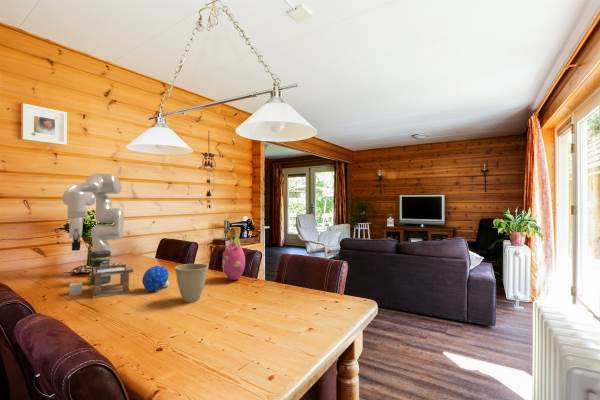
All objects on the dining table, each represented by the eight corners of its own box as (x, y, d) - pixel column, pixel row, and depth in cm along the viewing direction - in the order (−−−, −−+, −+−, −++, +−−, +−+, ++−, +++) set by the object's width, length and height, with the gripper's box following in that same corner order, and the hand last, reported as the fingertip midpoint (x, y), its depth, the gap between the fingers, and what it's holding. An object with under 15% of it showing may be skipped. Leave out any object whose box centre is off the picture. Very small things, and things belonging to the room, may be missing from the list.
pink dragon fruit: (219, 277, 190) (219, 229, 190) (240, 275, 195) (241, 228, 195) (225, 284, 173) (225, 231, 174) (248, 282, 179) (248, 230, 179)
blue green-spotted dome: (181, 271, 170) (162, 259, 160) (173, 296, 162) (152, 284, 151) (162, 274, 175) (142, 262, 165) (153, 298, 166) (131, 287, 156)
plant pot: (197, 306, 138) (197, 270, 138) (168, 303, 141) (168, 269, 141) (213, 296, 153) (213, 264, 153) (186, 294, 156) (186, 262, 156)
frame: (92, 288, 164) (92, 266, 164) (126, 284, 173) (126, 263, 173) (93, 298, 148) (93, 274, 148) (130, 292, 157) (130, 270, 157)
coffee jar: (94, 285, 169) (95, 252, 169) (88, 283, 173) (88, 251, 173) (113, 282, 177) (113, 250, 177) (106, 280, 182) (106, 248, 182)
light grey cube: (70, 293, 156) (70, 283, 156) (82, 291, 159) (82, 282, 159) (69, 295, 152) (69, 285, 152) (82, 294, 154) (82, 284, 154)
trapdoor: (97, 272, 162) (97, 269, 162) (131, 268, 171) (131, 265, 171) (97, 277, 152) (98, 273, 152) (133, 273, 161) (133, 270, 161)
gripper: (68, 215, 160) (67, 247, 160) (66, 216, 146) (65, 252, 146) (85, 214, 164) (85, 246, 164) (85, 215, 150) (85, 250, 150)
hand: (76, 249), depth 155 cm, fingers open, 9 cm apart
